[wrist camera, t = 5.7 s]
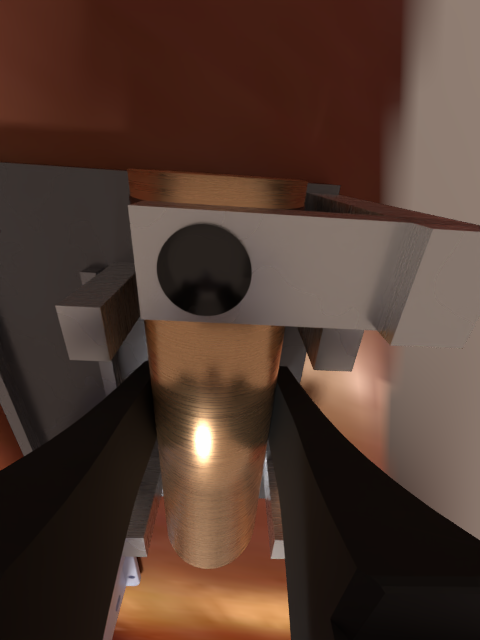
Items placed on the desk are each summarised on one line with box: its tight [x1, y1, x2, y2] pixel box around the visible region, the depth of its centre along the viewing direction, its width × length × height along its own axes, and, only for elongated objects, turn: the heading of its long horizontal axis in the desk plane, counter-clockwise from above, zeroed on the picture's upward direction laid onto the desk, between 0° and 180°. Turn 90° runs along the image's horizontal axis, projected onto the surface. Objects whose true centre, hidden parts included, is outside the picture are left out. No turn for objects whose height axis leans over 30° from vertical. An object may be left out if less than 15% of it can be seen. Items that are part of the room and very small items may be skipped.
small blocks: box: [55, 262, 364, 559], centre depth 11 cm, size 12×7×4 cm, turn 177°
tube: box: [127, 169, 308, 569], centre depth 10 cm, size 14×4×4 cm, turn 177°
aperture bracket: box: [128, 192, 480, 349], centre depth 6 cm, size 2×4×6 cm, turn 87°
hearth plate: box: [0, 162, 340, 498], centre depth 12 cm, size 16×12×2 cm
